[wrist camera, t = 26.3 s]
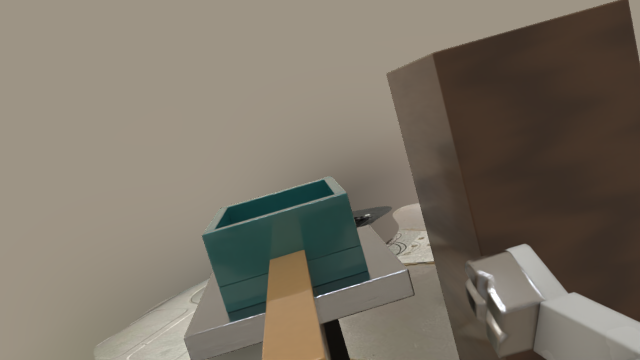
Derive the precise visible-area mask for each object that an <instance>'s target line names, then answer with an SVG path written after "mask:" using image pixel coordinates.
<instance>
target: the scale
mask: <svg viewBox="0 0 640 360" xmlns="http://www.w3.org/2000/svg"><path fill="white" fill-rule="evenodd" d="M357 231H358V235H359V238H360V242H361V246H362V249H363V253H364V256H365V260H366V263H367V267H368V271H365V272H362V273H358V274H355V275H352V276H348V277H345V278H342V279H338V280H335V281H332V282H328V283H325V284H322V285H319V286H315V287H316V291H317V296H318V301H319V305H320V310H321V315H322V319H323V324H324V329H325V333H326V338H327V343H328V347H329V352H330V357H331V360H350V358H349V355H348V351H347V348H346V345H345V341H344V338H343V334H342V331H341V327H340V324H339V321H338V319H340V318H343V317H346V316H349V315H353V314H356V313H359V312H362V311H366V310H369V309H372V308H375V307H379V306H382V305H385V304H388V303H392V302H395V301H398V300H401V299H405V298H408V297H411V296H414V295H415V293H414V289H413V286H412V282H411V278H410V274H409V271H408V269H407V268H406V267H405V266H404V264H403V263H402V262H401V261H400V260H399V259H398V258H397V256H396V255H395V254H394V253H393V252H392V251H391V250H390V248H389V247H388V246H387V245H386V244H385V243H384V242H383V240H382V239H381V238H380V237H379V236H378V235H377V234H376V232H375V231H374V230H373V229H372V228H371V227H370V225H366V226H363V227H359V228H357ZM265 312H266V302H262V303H259V304H256V305H252V306H249V307H246V308H242V309H239V310H236V311H232V312H229V313H227V312H226V308H225V305H224V302H223V299H222V296H221V293H220V290H219V287H218V284H217V281H216V278H215V275H214V272H212V275H211V277H210V279H209V281H208V284H207V286H206V288H205V290H204V293H203V295H202V297H201V299H200V302H199V304H198V306H197V309H196V311H195V313H194V315H193V318H192V320H191V322H190V325H189V327H188V329H187V331H186V334H185V336H184V341H185V344H186V347H187V350H188V352H189V355H190V358H191V360H206V359H209V358H213V357H216V356H219V355H222V354H226V353H229V352H232V351H235V350H239V349H242V348H245V347H248V346H252V345H255V344H258V343H261V342H263V338H264V325H265Z"/></svg>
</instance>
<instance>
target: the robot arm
mask: <svg viewBox="0 0 640 360" xmlns="http://www.w3.org/2000/svg"><path fill="white" fill-rule="evenodd" d="M465 272H466V274H467V276H468V277H469V279H468V280H467V281H466V283H465V292H466V296H467V300H468V303H469V305H470V308H471V310H472V312H473V314H474V315H475V317H476V319H477V320H478V321H480V322H482V323H484V324H486V336H487V338H488V340H489V342H490V343H491V345H492V347H493V348H494V350H495V352H496V353H497V355H498V357H499V358H502V357H506V356H510V355H513V354H517V353H520V352H524V351H527V350H531V349H534V350H533V351H535V352H536V353H538V354H539V355H541V356H542V357H544V358H545V359H547V360H640V322H638V321H636V320H634V319H631V318H629V317H627V316H625V315H623V314H621V313H619V312H616V311H614V310H612V309H610V308H608V307H606V306H603V305H601V304H599V303H597V302H595V301H593V300H590V299H588V298H586V297H584V296H582V295H580V294H578V293H575V292H573V293H569V294H568V292H567V291H566V290H565V289H564V288H563V286H562V285H561V284H560V283H559V281H558V280H557V279H556V278H555V276H554V275H553V274H552V273H551V272H550V270H549V269H548V268H547V267H546V265H545V264H544V263H543V262H542V260H541V259H540V258H539V257H538V256H537V254H536V253H535V252H534V251H533V249H532V248H531V247H530V246H529V245H527V244H522V245H518V246H515V247H512V248H509V249H506V250H501V251H497V252H494V253H491V254H488V255H485V256H482V257H479V258H475V259H472V260H469V261H467V262H466V264H465Z"/></svg>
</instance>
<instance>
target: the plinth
mask: <svg viewBox="0 0 640 360" xmlns="http://www.w3.org/2000/svg"><path fill="white" fill-rule="evenodd" d="M387 78H388V82H389V86H390V90H391V94H392V98H393V101H394V105H395V110H396V113H397V117H398V121H399V125H400V129H401V133H402V137H403V141H404V145H405V148H406V152H407V156H408V160H409V164H410V168H411V172H412V176H413V179H414V184H415V187H416V191H417V195H418V199H419V203H420V207H421V211H422V215H423V219H424V222H425V226H426V230H427V234H428V238H429V242H430V246H431V250H432V254H433V258H434V261H435V265H436V269H437V273H438V277H439V281H440V285H441V289H442V293H443V296H444V300H445V304H446V308H447V312H448V316H449V320H450V324H451V328H452V331H453V335H454V339H455V343H456V347H457V351H458V355H459V359H460V360H547V359H545V358H544V357H542V356H541V355H539V354H538V353H536V352H535V351H533V350H534V349H531V350H527V351H524V352H520V353H517V354H513V355H510V356H506V357H502V358H499V357H498V355H497V353H496V352H495V350H494V348H493V347H492V345H491V343H490V342H489V340H488V338H487V336H486V324H484V323H482V322H480V321H478V320H477V319H476V317H475V315H474V314H473V312H472V310H471V308H470V305H469V303H468V300H467V296H466V292H465V283H466V281H467V280H468V279H469V277H468V276H467V274H466V272H465V264H466V262H467V261H469V260H472V259H475V258H479V257H482V256H485V255H488V254H491V253H494V252H497V251H501V250H506V249H509V248H512V247H515V246H518V245H522V244H527V245H529V246H530V247H531V248H532V249H533V251H534V252H535V253H536V254H537V256H538V257H539V258H540V259H541V260H542V262H543V263H544V264H545V265H546V267H547V268H548V269H549V270H550V272H551V273H552V274H553V275H554V276H555V278H556V279H557V280H558V281H559V283H560V284H561V285H562V286H563V288H564V289H565V290H566V291H567V292H568V294H569V293H573V292H575V293H578V294H580V295H582V296H584V297H586V298H588V299H590V300H593V301H595V302H597V303H599V304H601V305H603V306H606V307H608V308H610V309H612V310H614V311H616V312H619V313H621V314H623V315H625V316H627V317H629V318H631V319H634V320H636V321H638V322H640V62H639V56H638V51H637V45H636V40H635V35H634V29H633V23H632V18H631V12H630V7H629V1H628V0H618V1H615V2H610V3H607V4H603V5H600V6H597V7H593V8H589V9H586V10H582V11H579V12H575V13H571V14H568V15H564V16H561V17H558V18H554V19H550V20H547V21H544V22H540V23H537V24H533V25H529V26H526V27H522V28H519V29H515V30H511V31H508V32H504V33H501V34H497V35H494V36H490V37H487V38H483V39H480V40H476V41H472V42H469V43H465V44H462V45H459V46H455V47H451V48H448V49H444V50H441V51H437V52H434V53H431V54H429V55H427V56H425V57H422V58H420V59H418V60H416V61H413V62H411V63H409V64H407V65H404V66H402V67H400V68H398V69H396V70H393V71H391V72H388V73H387Z"/></svg>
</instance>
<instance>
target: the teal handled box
mask: <svg viewBox="0 0 640 360" xmlns="http://www.w3.org/2000/svg"><path fill="white" fill-rule="evenodd" d="M202 238H203V241H204V244H205V247H206V250H207V253H208V256H209V259H210V262H211V265H212V269H213V272H214V275H215V278H216V281H217V284H218V287H219V290H220V293H221V296H222V299H223V302H224V305H225V308H226V312H227V313H229V312H232V311H236V310H239V309H242V308H246V307H249V306H252V305H256V304H259V303H262V302H266V312H265V325H264V338H263V352H262V360H331V357H330V352H329V347H328V343H327V338H326V333H325V329H324V324H323V319H322V315H321V310H320V305H319V301H318V296H317V291H316V287H315V286H319V285H322V284H325V283H328V282H332V281H335V280H338V279H342V278H345V277H348V276H352V275H355V274H358V273H362V272H365V271H368V267H367V263H366V260H365V256H364V253H363V249H362V246H361V242H360V238H359V235H358V231H357V228H356V224H355V220H354V217H353V213H352V210H351V206H350V202H349V199H348V195H347V193H346V192H345V191H344V190H343V189H342V188H341V187H340V186H339V184H338V183H337V182H336V181H335V180H334V179H333V178H332V177H331V176H329V177H326V178H322V179H319V180H315V181H312V182H309V183H305V184H302V185H299V186H295V187H291V188H288V189H284V190H281V191H278V192H274V193H271V194H267V195H264V196H261V197H257V198H254V199H250V200H247V201H243V202H240V203H236V204H233V205H230V206H226V207H223V208H220V210H219V211H218V213H217V214H216V216H215V217H214V218H213V220H212V222H211V223H210V224H209V226H208V227H207V229H206V230H205V232H204V233H203V235H202Z"/></svg>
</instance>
